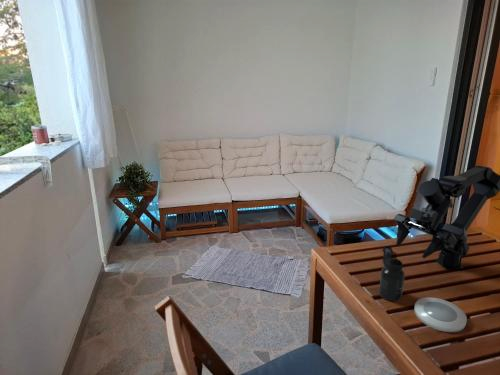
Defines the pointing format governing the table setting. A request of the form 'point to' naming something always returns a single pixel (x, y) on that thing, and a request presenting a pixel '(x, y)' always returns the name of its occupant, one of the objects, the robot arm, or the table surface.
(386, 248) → the electric trimmer
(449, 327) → the saucer
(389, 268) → the supplement bottle
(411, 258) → the table surface
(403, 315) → the table surface
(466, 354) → the table surface
